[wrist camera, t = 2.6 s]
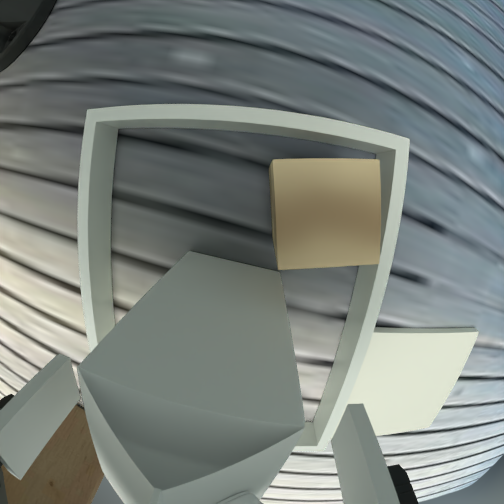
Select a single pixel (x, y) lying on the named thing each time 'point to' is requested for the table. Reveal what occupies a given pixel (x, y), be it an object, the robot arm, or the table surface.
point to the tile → (409, 375)
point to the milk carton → (196, 387)
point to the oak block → (325, 212)
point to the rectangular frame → (254, 121)
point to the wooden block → (60, 468)
